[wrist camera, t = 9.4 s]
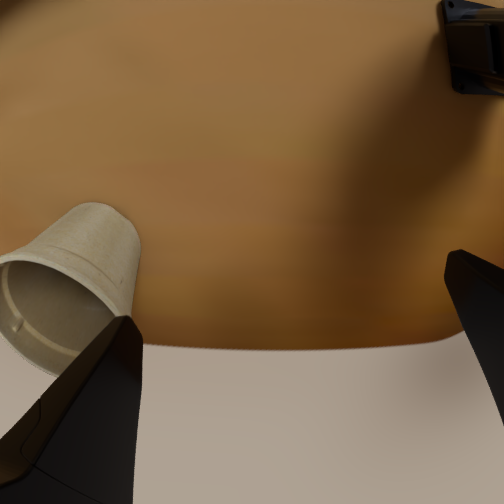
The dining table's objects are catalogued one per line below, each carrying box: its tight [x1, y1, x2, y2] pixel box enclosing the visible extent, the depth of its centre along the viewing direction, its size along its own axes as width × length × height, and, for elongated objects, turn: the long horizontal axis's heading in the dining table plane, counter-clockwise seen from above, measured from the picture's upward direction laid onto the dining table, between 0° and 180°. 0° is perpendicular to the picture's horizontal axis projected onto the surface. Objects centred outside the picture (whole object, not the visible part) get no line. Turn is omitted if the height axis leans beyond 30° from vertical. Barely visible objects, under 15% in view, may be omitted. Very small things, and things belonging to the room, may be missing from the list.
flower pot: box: [0, 202, 141, 378], centre depth 17 cm, size 9×9×9 cm
